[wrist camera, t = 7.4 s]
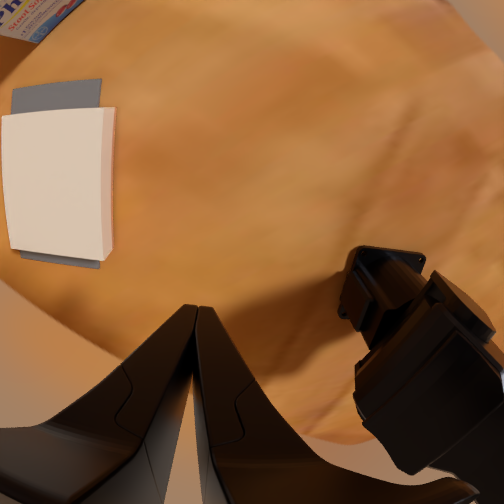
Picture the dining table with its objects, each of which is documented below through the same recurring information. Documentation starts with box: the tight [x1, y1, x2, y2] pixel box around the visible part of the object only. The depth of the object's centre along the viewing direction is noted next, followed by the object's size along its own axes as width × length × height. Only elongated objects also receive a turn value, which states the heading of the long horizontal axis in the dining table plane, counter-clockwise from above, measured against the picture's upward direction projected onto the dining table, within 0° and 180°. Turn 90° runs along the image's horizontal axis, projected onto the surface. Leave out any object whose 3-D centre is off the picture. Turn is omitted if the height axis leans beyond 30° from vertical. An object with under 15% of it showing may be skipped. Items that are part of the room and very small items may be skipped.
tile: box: [1, 107, 117, 261], centre depth 18 cm, size 2×10×8 cm
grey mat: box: [11, 79, 102, 269], centre depth 19 cm, size 8×14×1 cm, turn 172°
